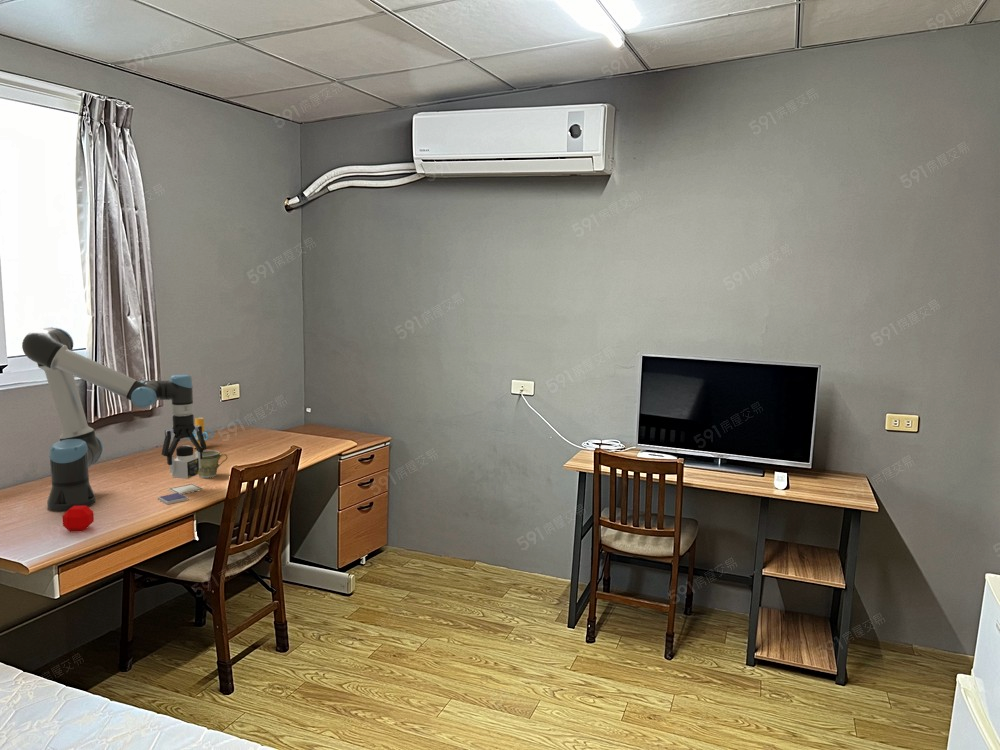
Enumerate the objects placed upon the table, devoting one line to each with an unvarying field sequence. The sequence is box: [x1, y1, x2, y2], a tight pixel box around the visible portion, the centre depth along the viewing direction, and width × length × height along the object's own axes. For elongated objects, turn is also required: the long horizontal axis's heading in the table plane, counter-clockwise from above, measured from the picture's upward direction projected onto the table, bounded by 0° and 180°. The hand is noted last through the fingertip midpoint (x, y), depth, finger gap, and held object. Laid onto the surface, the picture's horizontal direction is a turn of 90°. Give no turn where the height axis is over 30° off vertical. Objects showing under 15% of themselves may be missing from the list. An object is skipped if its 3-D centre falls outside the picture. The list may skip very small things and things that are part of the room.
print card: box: [167, 483, 204, 495], centre depth 282 cm, size 10×10×1 cm
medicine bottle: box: [171, 445, 199, 480], centre depth 281 cm, size 7×7×12 cm
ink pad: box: [157, 493, 189, 505], centre depth 270 cm, size 8×8×1 cm
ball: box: [62, 505, 95, 533], centre depth 236 cm, size 8×8×8 cm
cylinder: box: [186, 417, 214, 449], centre depth 348 cm, size 12×10×15 cm
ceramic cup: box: [193, 449, 228, 479], centre depth 302 cm, size 13×10×10 cm
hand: (185, 470), depth 281 cm, fingers closed on medicine bottle, 9 cm apart
